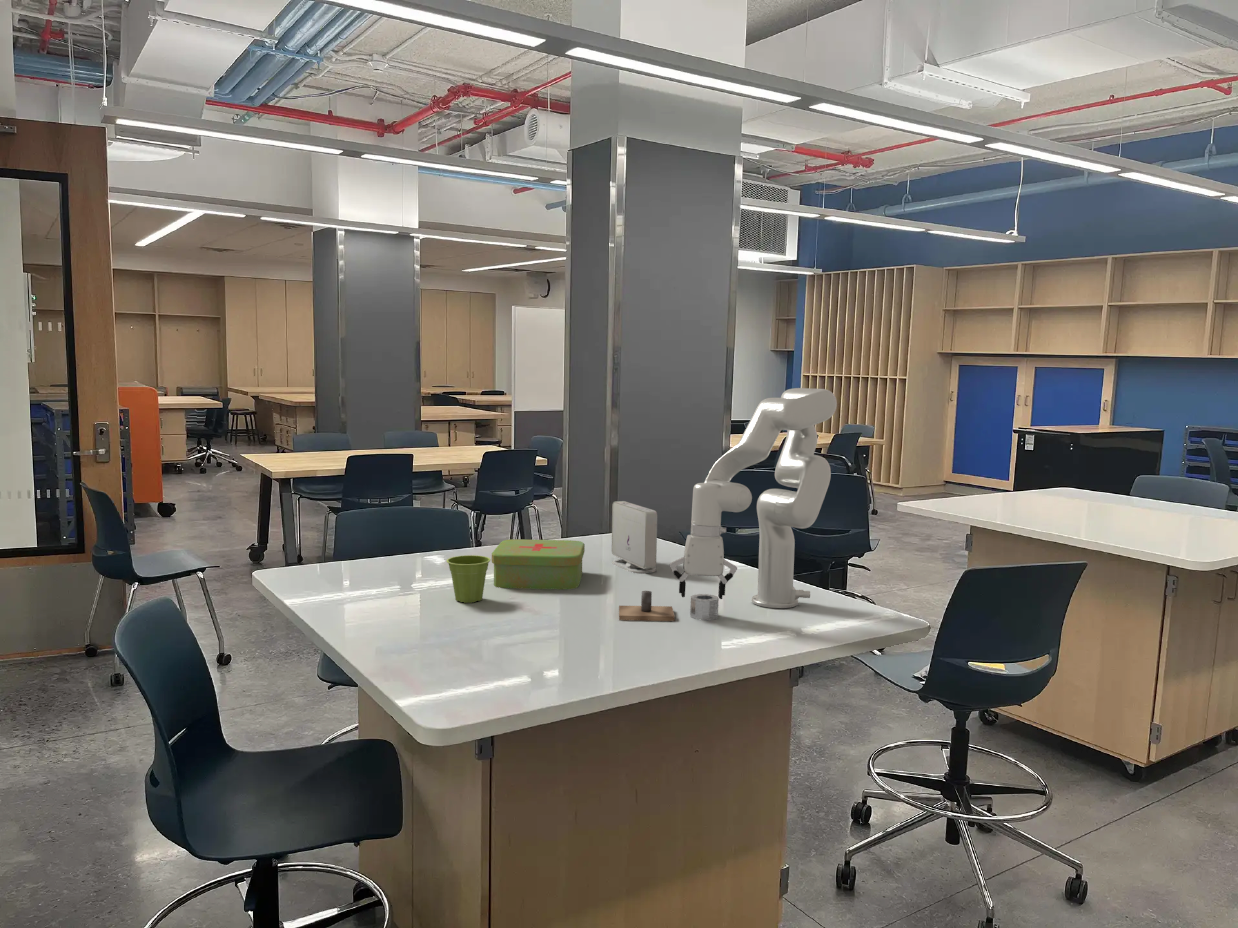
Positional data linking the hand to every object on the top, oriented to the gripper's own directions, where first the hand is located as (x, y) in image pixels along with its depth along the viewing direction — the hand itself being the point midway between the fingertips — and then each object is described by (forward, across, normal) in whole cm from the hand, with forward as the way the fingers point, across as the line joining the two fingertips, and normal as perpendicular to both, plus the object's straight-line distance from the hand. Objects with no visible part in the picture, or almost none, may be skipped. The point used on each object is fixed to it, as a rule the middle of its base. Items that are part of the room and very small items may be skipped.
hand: (701, 597), depth 231 cm
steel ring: (+5, -1, -1) cm, 5 cm away
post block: (+6, +14, -1) cm, 15 cm away
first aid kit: (+6, +45, -41) cm, 61 cm away
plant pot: (+7, +62, -14) cm, 64 cm away
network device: (+5, +16, -61) cm, 63 cm away
